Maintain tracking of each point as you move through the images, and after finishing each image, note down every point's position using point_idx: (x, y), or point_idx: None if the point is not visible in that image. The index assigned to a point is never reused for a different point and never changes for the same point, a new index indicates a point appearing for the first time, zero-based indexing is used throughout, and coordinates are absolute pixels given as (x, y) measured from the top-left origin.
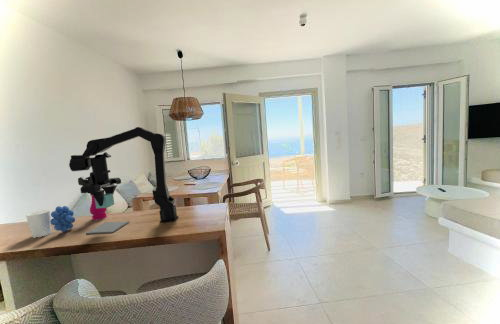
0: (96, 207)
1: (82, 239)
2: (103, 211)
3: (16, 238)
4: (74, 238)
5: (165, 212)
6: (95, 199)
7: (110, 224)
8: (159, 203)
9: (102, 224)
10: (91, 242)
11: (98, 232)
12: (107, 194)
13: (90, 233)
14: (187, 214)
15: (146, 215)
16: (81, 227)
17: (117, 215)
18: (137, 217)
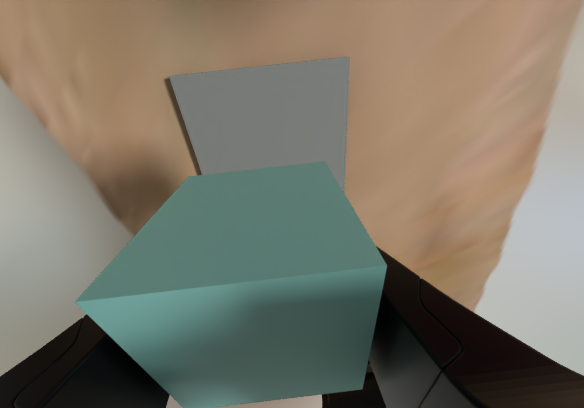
0: (185, 186)
1: (115, 123)
2: None
3: None
4: (99, 44)
5: None
6: (125, 264)
7: (306, 138)
8: (322, 401)
9: (310, 74)
10: (115, 201)
11: (196, 157)
12: (311, 370)
13: (182, 107)
14: None
15: (426, 224)
16: None
17: (525, 14)
18: (410, 200)
